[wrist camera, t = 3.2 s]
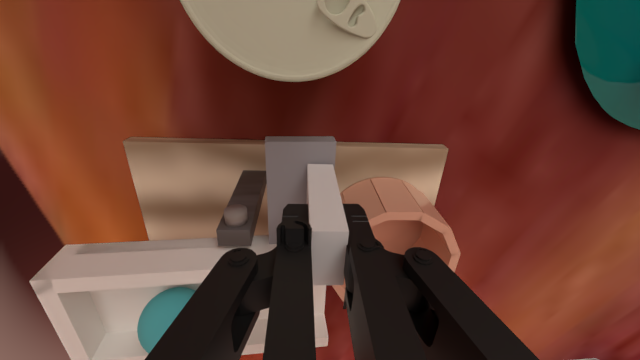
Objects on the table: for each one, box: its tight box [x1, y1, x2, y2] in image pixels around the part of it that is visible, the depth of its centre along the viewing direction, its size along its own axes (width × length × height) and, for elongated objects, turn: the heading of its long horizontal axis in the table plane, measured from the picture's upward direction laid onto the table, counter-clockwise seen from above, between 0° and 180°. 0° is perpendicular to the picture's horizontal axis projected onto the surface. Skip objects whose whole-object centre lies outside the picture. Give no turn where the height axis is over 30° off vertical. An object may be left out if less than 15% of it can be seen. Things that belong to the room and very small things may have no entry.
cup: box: [332, 177, 460, 302], centre depth 26 cm, size 10×10×6 cm
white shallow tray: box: [29, 136, 336, 360], centre depth 18 cm, size 15×16×3 cm
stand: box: [123, 137, 448, 246], centre depth 24 cm, size 15×28×10 cm, turn 88°
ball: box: [137, 287, 195, 353], centre depth 18 cm, size 4×4×4 cm
